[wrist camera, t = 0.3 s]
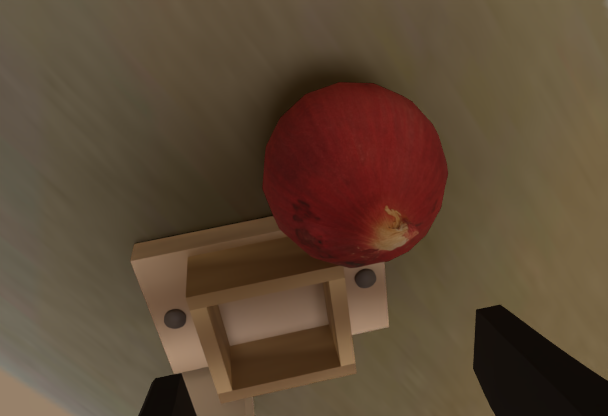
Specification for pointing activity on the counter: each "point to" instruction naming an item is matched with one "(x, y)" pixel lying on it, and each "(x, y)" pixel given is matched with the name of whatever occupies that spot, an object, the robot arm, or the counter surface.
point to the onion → (354, 174)
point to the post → (213, 396)
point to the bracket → (256, 307)
